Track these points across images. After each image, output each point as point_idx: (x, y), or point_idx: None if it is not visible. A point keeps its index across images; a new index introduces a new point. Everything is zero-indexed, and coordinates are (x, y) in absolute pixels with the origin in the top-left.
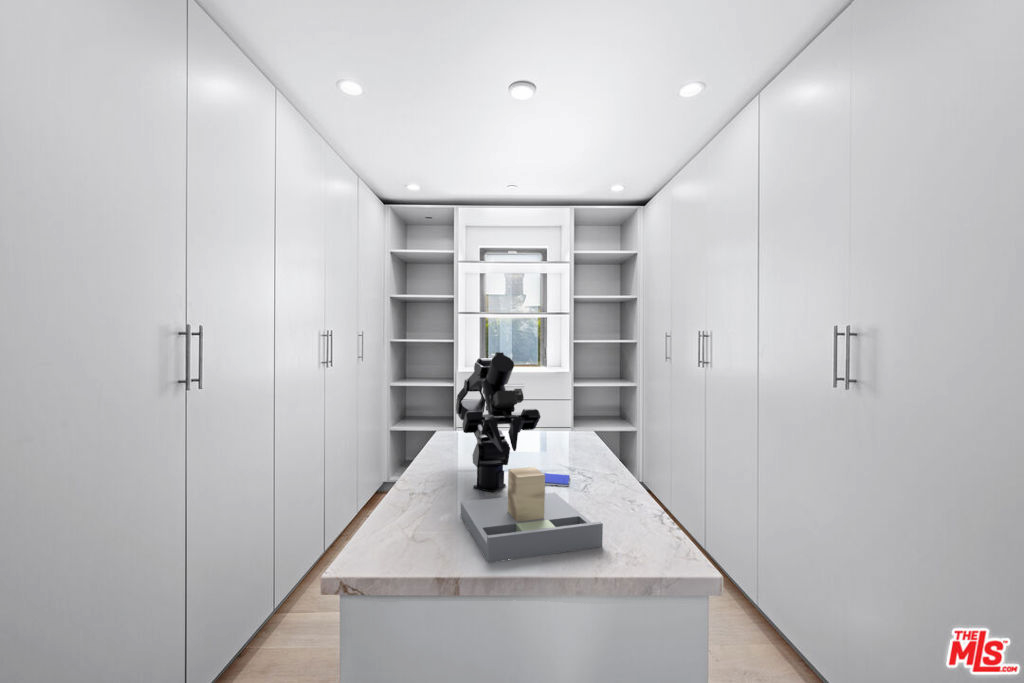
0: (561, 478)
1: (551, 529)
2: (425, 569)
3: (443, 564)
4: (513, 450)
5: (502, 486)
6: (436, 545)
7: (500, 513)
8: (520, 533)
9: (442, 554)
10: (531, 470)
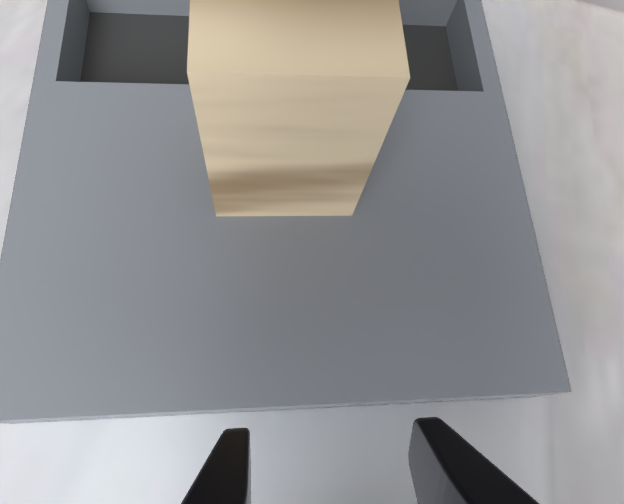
0: None
1: None
2: (618, 37)
3: (575, 46)
4: (250, 480)
5: None
6: (606, 150)
7: (391, 195)
8: None
9: (582, 94)
10: (247, 7)
